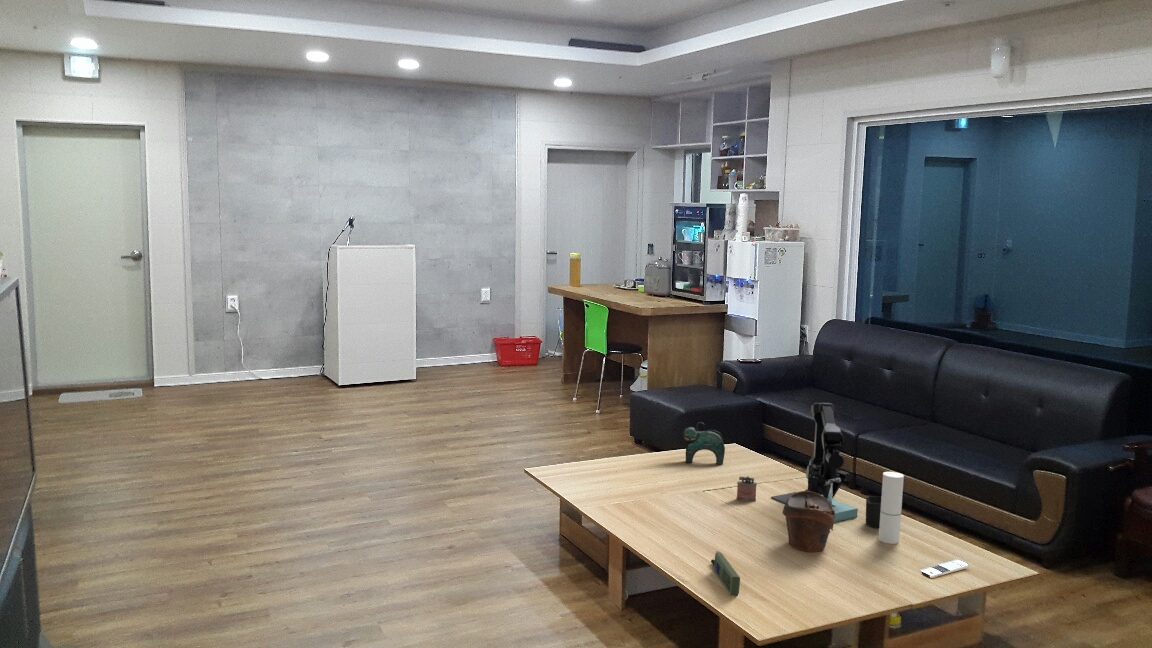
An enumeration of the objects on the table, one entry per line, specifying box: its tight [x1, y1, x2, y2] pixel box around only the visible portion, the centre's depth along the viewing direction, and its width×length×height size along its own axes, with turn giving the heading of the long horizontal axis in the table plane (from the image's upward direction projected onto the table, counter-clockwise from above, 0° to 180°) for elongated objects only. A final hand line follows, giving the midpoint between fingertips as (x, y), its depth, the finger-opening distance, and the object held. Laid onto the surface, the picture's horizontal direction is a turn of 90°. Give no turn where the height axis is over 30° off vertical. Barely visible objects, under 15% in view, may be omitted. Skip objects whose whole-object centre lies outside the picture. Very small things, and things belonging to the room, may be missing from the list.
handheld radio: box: [710, 550, 741, 597], centre depth 284 cm, size 7×3×25 cm
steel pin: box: [827, 481, 833, 505], centre depth 348 cm, size 3×3×10 cm
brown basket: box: [781, 490, 835, 553], centre depth 313 cm, size 18×20×18 cm
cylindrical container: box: [878, 471, 905, 545], centre depth 320 cm, size 7×7×25 cm
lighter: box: [736, 476, 758, 502], centre depth 363 cm, size 8×3×10 cm, turn 84°
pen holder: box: [865, 495, 881, 530], centre depth 337 cm, size 9×9×10 cm
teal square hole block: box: [832, 498, 859, 523], centre depth 348 cm, size 16×16×4 cm
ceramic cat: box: [682, 421, 726, 466], centre depth 415 cm, size 20×6×20 cm, turn 80°
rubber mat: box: [770, 491, 797, 505], centre depth 364 cm, size 14×14×1 cm
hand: (828, 499), depth 348 cm, fingers closed on steel pin, 3 cm apart
